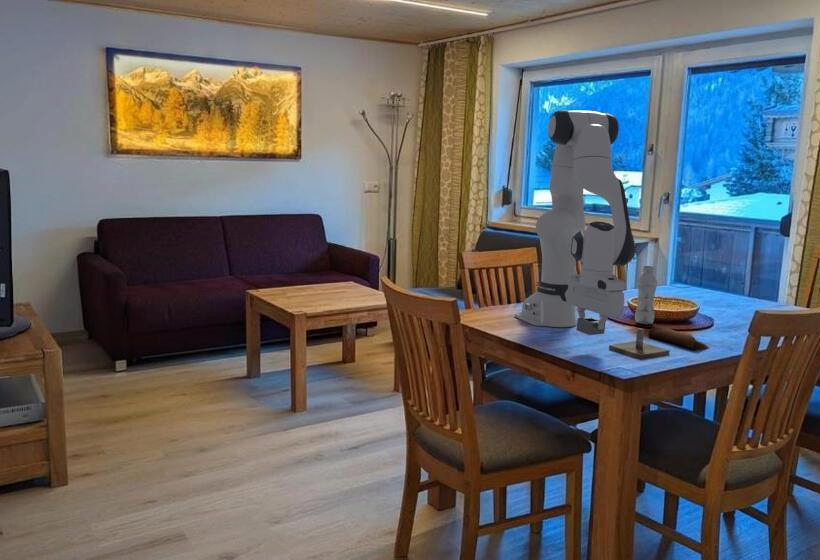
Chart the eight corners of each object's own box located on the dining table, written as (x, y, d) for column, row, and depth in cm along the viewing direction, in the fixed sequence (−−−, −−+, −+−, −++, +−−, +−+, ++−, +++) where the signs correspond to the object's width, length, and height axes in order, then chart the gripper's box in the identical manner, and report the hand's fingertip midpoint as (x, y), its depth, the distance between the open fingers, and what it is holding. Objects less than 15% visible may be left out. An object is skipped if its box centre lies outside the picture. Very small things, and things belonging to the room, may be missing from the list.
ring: (576, 330, 210) (577, 318, 209) (590, 328, 213) (591, 317, 212) (589, 335, 205) (590, 322, 204) (604, 333, 208) (605, 321, 207)
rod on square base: (608, 349, 213) (610, 326, 211) (636, 344, 219) (638, 322, 218) (640, 359, 202) (642, 335, 201) (669, 354, 209) (671, 331, 208)
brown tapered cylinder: (713, 348, 217) (707, 330, 214) (698, 361, 215) (692, 344, 212) (666, 334, 232) (660, 318, 230) (651, 347, 230) (645, 331, 228)
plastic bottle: (632, 324, 246) (637, 267, 243) (636, 321, 252) (640, 264, 249) (651, 327, 243) (656, 268, 240) (655, 323, 249) (660, 266, 246)
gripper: (563, 272, 213) (559, 317, 216) (613, 286, 196) (607, 335, 198) (579, 272, 216) (575, 316, 219) (630, 285, 199) (624, 333, 201)
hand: (591, 325), depth 209 cm, fingers closed on ring, 6 cm apart
